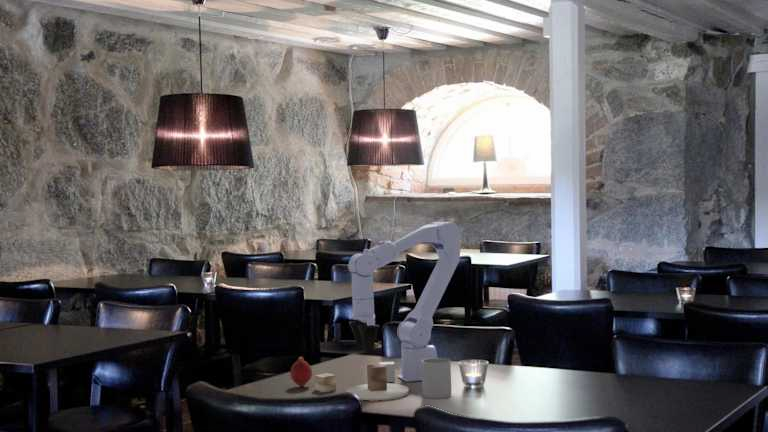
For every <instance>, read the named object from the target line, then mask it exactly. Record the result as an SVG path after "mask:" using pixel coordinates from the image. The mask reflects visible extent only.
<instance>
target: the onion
mask: <svg viewBox="0 0 768 432" xmlns="http://www.w3.org/2000/svg"><path fill="white" fill-rule="evenodd" d="M312 377H313V369H312V367H311V365H310V363H308V362H307V361H306V360H304V357H303V356H300V357H299V358H298V359H297V360H296V361H295V362H294V363H293V364H292V366H291V368H290V378H291V380H292V381H293V383H295V384H296V385H297V386H298V387H301V388H303V387H304V386H305V385H306V384H307V383H308V382H310V381H311V379H312Z"/></svg>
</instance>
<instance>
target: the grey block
mask: <svg viewBox="0 0 768 432" xmlns="http://www.w3.org/2000/svg"><path fill="white" fill-rule="evenodd" d="M378 364H383V365H384V366H386V377H387V382H395V383H396V375H395V374H396V373H395V371H396V370H395V369H396V368H395V367H396V366H395V361H379V362H378Z"/></svg>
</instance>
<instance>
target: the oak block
mask: <svg viewBox="0 0 768 432" xmlns="http://www.w3.org/2000/svg"><path fill="white" fill-rule="evenodd" d="M314 389H315V391H318V392H321V393H327V392H328V393H329V392H333V391H337V375H336V374H332V373H328V372H326V373H321V374H315V375H314Z"/></svg>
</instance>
